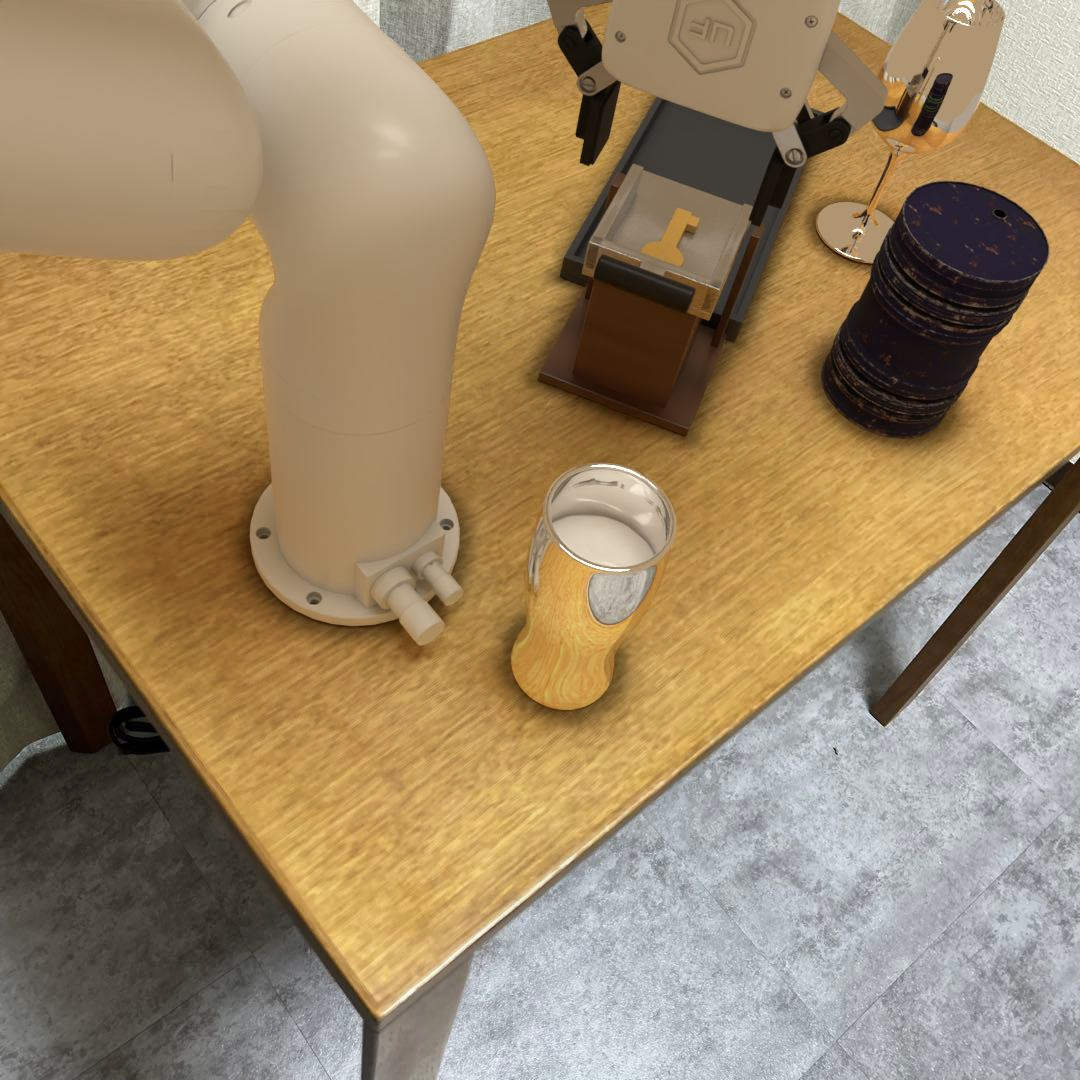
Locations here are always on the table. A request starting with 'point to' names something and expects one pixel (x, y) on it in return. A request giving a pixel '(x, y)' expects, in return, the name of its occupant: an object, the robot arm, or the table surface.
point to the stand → (640, 350)
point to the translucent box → (645, 219)
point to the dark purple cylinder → (932, 306)
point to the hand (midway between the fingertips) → (676, 181)
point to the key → (673, 238)
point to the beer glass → (589, 579)
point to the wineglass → (920, 105)
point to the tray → (699, 186)
